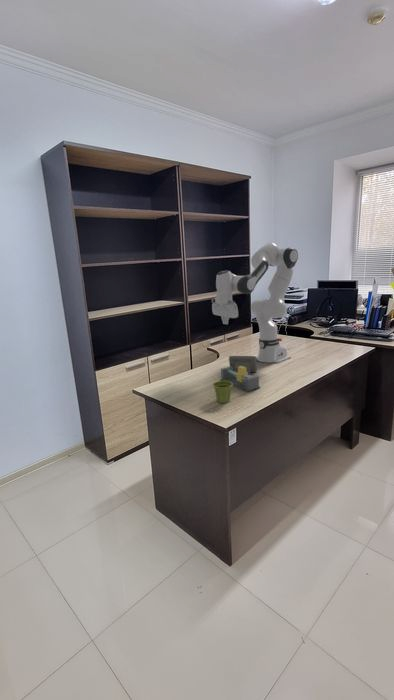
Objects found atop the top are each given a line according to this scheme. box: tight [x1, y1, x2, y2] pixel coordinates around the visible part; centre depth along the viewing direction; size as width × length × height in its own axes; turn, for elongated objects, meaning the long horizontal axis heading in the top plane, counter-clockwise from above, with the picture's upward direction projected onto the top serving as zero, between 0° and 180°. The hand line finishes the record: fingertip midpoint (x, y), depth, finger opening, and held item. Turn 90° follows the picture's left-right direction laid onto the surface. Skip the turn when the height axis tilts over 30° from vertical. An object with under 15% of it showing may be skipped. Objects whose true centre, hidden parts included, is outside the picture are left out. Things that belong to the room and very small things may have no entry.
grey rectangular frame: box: [219, 365, 261, 393], centre depth 186 cm, size 23×9×6 cm, turn 33°
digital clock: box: [228, 355, 258, 375], centre depth 203 cm, size 16×9×11 cm, turn 64°
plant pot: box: [212, 380, 233, 404], centre depth 166 cm, size 9×9×9 cm
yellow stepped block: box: [236, 366, 248, 382], centre depth 183 cm, size 4×4×7 cm
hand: (225, 324), depth 201 cm, fingers closed
